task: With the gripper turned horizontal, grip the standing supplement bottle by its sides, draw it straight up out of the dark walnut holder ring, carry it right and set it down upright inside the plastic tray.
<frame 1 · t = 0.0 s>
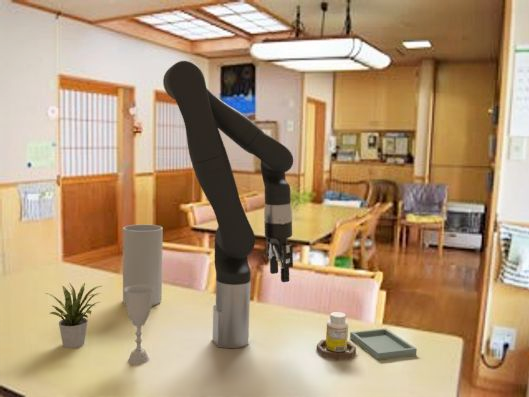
hand: (279, 277, 137), 17 cm above the table, tool pointing down, fingers open, 8 cm apart
chalice: (138, 360, 121), on the table
cylinder vase: (142, 302, 164), on the table
tray: (381, 346, 135), on the table
supplement bottle: (335, 352, 130), resting in holder ring
holder ring: (336, 351, 130), on the table
house plant: (79, 345, 129), on the table
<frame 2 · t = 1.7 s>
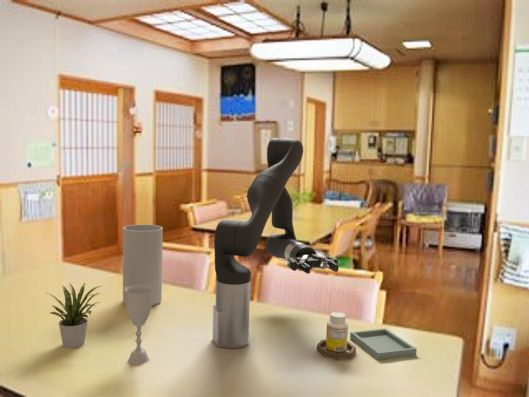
hand: (323, 269, 137), 20 cm above the table, tool horizontal, fingers open, 8 cm apart
nothing on the table moved.
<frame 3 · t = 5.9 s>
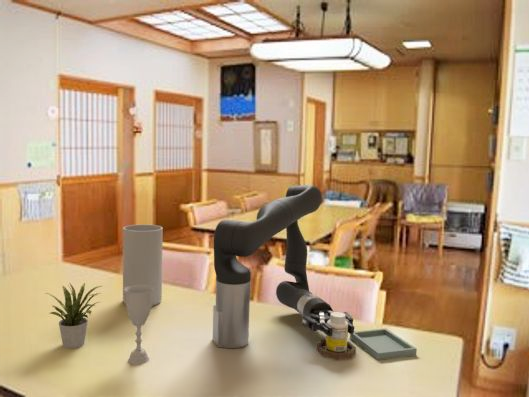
hand: (341, 331, 127), 7 cm above the table, tool horizontal, fingers closed on supplement bottle, 5 cm apart
supplement bottle: (335, 352, 130), resting in holder ring, touching gripper
everything else where it was.
when the fingers open (8 cm above the table, at t = 11.0 s): supplement bottle drops 1 cm, resting on tray.
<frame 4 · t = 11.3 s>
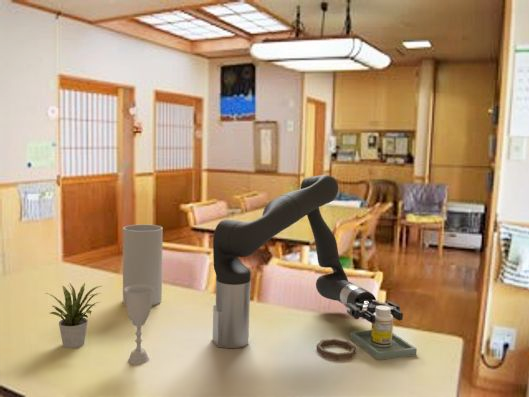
hand: (387, 318, 132), 9 cm above the table, tool horizontal, fingers open, 8 cm apart
supplement bottle: (381, 344, 135), resting on tray
everything else where it was.
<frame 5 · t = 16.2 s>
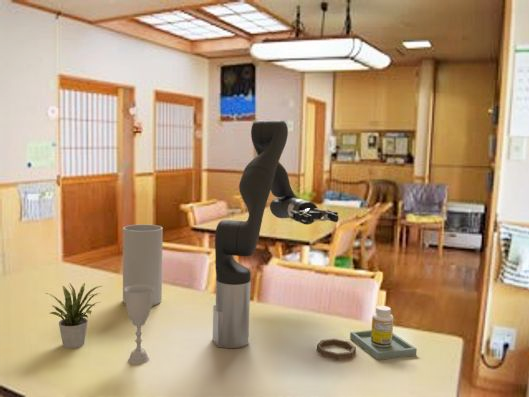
hand: (324, 219, 148), 32 cm above the table, tool horizontal, fingers open, 8 cm apart
nothing on the table moved.
at the end: supplement bottle inside the target area on the tray (0.3 cm from its centre), point 0.4 cm above the tray's base; supplement bottle tilted 0°; the gripper is holding nothing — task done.
